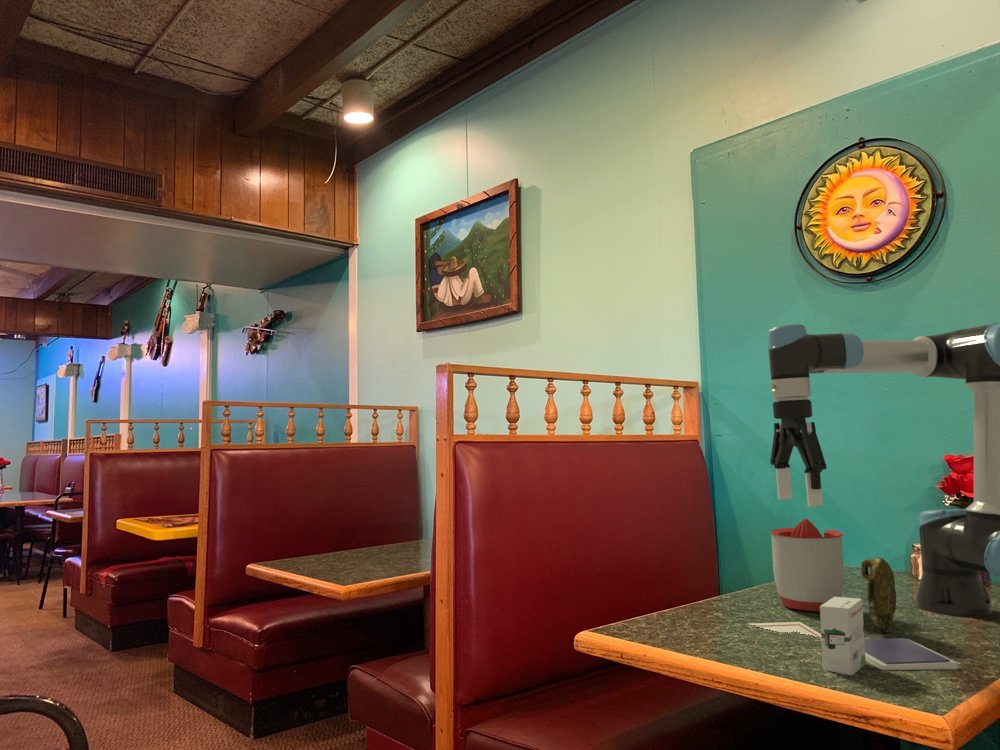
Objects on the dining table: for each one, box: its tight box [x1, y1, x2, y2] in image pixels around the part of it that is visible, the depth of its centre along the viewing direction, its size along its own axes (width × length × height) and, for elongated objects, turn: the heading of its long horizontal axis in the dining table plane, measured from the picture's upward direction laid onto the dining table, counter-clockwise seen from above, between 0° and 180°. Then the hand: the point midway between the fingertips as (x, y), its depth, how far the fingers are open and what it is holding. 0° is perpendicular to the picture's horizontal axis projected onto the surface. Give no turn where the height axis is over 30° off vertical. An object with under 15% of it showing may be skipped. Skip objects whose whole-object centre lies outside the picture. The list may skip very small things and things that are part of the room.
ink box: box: [819, 596, 866, 676], centre depth 125 cm, size 9×5×12 cm, turn 140°
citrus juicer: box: [769, 518, 845, 613], centre depth 170 cm, size 16×17×20 cm
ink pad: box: [864, 637, 959, 671], centre depth 131 cm, size 13×14×2 cm
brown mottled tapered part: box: [861, 557, 897, 634], centre depth 148 cm, size 9×5×15 cm, turn 132°
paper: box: [746, 621, 822, 642], centre depth 147 cm, size 16×16×1 cm
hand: (799, 502), depth 152 cm, fingers open, 13 cm apart
